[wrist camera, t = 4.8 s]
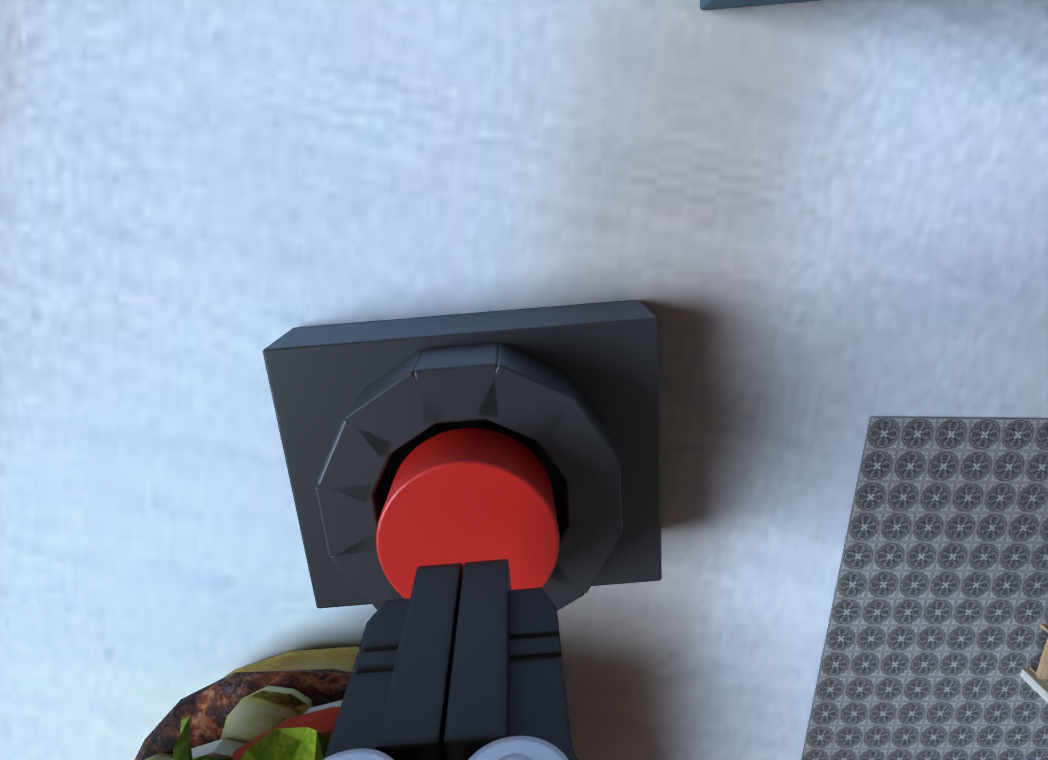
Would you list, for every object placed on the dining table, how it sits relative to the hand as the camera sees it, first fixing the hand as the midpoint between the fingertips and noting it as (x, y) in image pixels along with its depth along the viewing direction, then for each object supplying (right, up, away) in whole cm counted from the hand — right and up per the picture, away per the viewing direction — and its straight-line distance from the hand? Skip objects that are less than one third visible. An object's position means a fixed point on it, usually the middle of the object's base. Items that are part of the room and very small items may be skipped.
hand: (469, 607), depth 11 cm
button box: (0, +2, +7) cm, 7 cm away
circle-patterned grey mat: (+20, -5, +10) cm, 23 cm away
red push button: (0, +1, +3) cm, 4 cm away
